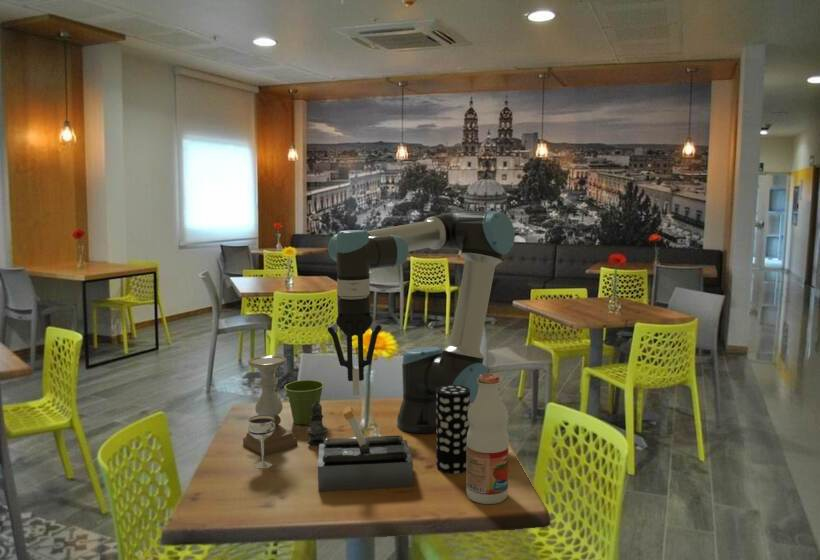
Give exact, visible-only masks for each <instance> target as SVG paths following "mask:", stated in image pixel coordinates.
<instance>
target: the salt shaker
mask: <svg viewBox="0 0 820 560" xmlns="http://www.w3.org/2000/svg"><path fill="white" fill-rule="evenodd" d="M322 409H323V408H322V404H321V403H320V404H319V403H317V400H316V403H315V404H313V405H312V406H311V412H312V415H311V416H310V418H311V423H312V424H310V426H309V427H308V428H307V429H306V433H307V436H308V438H309V440H308V441H307V445H309V444H310V445H309V446H312V445H314V447H319V444H324V440H325V439H326V438H325V437H326V436H327V433H328V430H329V429H328V427H326V426H324V424H323V418H324V415H323V410H322ZM315 445H316V446H315Z"/></svg>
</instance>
